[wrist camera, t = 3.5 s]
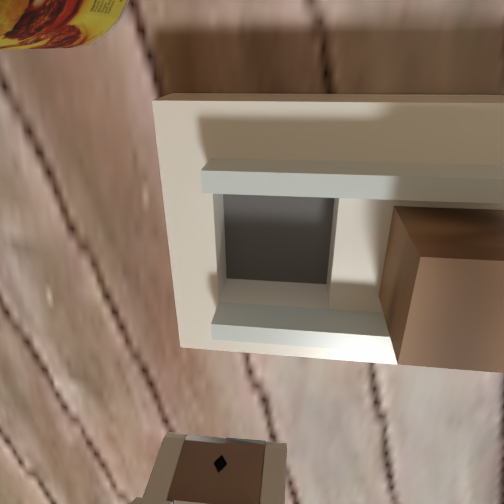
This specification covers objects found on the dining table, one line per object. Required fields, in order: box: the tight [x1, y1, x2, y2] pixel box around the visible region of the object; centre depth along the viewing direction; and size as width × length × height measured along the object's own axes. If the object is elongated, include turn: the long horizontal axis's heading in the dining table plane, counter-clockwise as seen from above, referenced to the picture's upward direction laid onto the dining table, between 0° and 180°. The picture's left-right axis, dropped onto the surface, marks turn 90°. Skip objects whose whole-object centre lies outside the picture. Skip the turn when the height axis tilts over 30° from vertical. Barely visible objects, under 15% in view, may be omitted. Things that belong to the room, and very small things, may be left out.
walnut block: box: [379, 206, 504, 373], centre depth 17 cm, size 5×5×5 cm
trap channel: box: [152, 93, 504, 373], centre depth 20 cm, size 25×14×5 cm, turn 90°
